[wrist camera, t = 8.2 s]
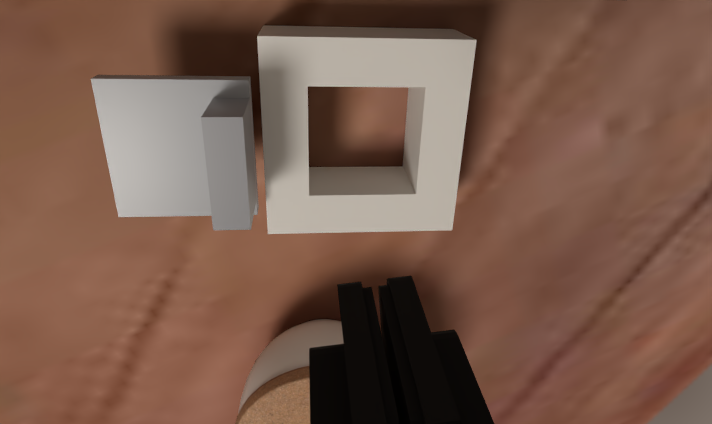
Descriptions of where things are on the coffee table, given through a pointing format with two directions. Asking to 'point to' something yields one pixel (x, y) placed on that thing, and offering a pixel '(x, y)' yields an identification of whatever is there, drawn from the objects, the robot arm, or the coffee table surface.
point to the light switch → (364, 184)
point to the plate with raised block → (180, 146)
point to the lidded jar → (285, 375)
